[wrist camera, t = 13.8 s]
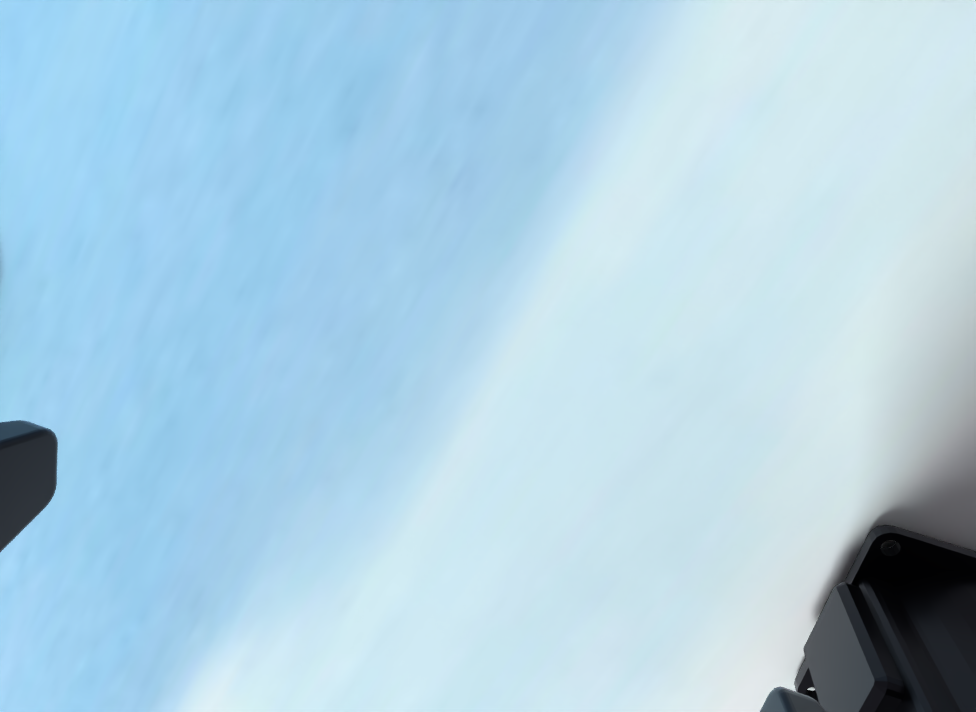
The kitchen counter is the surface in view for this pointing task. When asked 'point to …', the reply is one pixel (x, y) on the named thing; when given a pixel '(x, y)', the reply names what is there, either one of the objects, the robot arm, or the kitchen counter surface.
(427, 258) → the kitchen counter surface
